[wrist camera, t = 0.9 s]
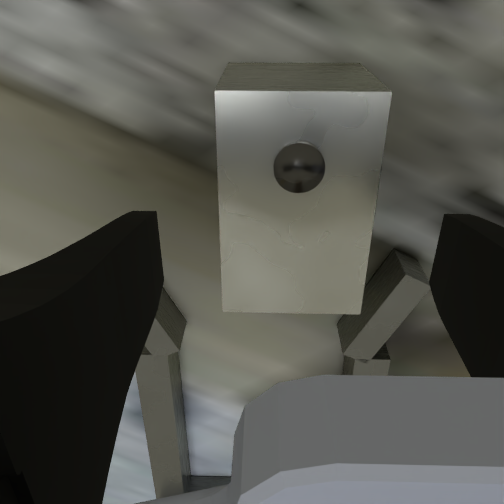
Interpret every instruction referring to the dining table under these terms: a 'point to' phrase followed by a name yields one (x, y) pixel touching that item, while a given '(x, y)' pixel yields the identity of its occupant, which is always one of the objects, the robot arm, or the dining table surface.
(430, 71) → the dining table surface
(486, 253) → the robot arm
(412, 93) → the dining table surface
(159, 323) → the socket
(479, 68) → the dining table surface
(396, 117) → the dining table surface
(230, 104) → the block
